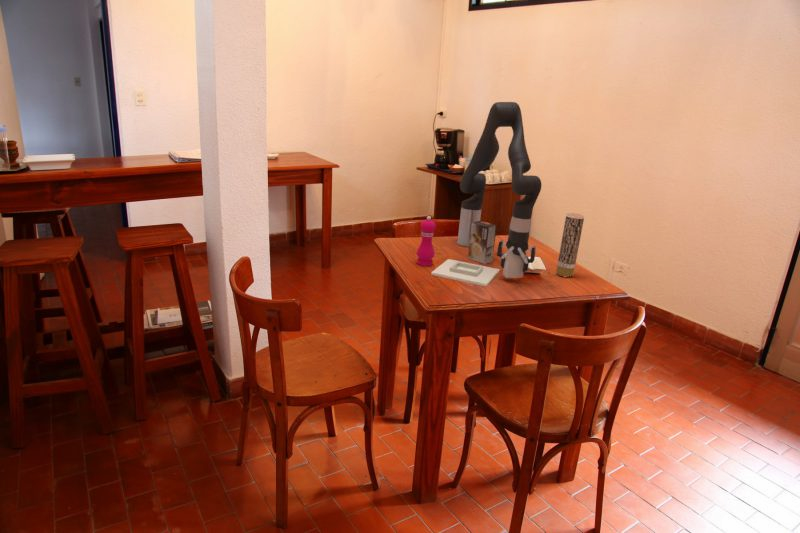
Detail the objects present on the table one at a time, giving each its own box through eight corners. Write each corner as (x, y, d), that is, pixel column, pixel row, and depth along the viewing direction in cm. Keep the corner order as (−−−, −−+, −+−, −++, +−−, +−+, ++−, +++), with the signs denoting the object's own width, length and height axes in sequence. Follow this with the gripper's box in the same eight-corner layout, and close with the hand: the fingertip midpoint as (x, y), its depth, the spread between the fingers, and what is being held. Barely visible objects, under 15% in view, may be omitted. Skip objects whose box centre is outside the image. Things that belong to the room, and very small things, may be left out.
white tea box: (522, 277, 206) (526, 252, 203) (506, 277, 204) (510, 253, 201) (518, 274, 209) (522, 249, 206) (502, 274, 208) (506, 249, 204)
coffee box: (493, 261, 229) (498, 225, 224) (484, 264, 224) (489, 227, 219) (475, 256, 235) (480, 220, 230) (466, 258, 230) (471, 222, 225)
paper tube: (561, 271, 223) (571, 212, 215) (576, 276, 219) (587, 216, 210) (552, 274, 218) (563, 214, 210) (567, 279, 214) (579, 218, 206)
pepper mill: (432, 267, 216) (436, 219, 209) (414, 265, 217) (418, 217, 210) (434, 262, 222) (439, 215, 216) (417, 260, 224) (421, 213, 217)
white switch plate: (448, 261, 225) (448, 255, 224) (499, 271, 217) (500, 265, 216) (431, 274, 207) (431, 268, 207) (486, 286, 199) (487, 280, 199)
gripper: (540, 229, 201) (534, 270, 207) (503, 223, 206) (497, 263, 212) (537, 234, 195) (530, 276, 200) (498, 227, 200) (492, 268, 205)
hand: (513, 269), depth 206 cm, fingers closed on white tea box, 7 cm apart
